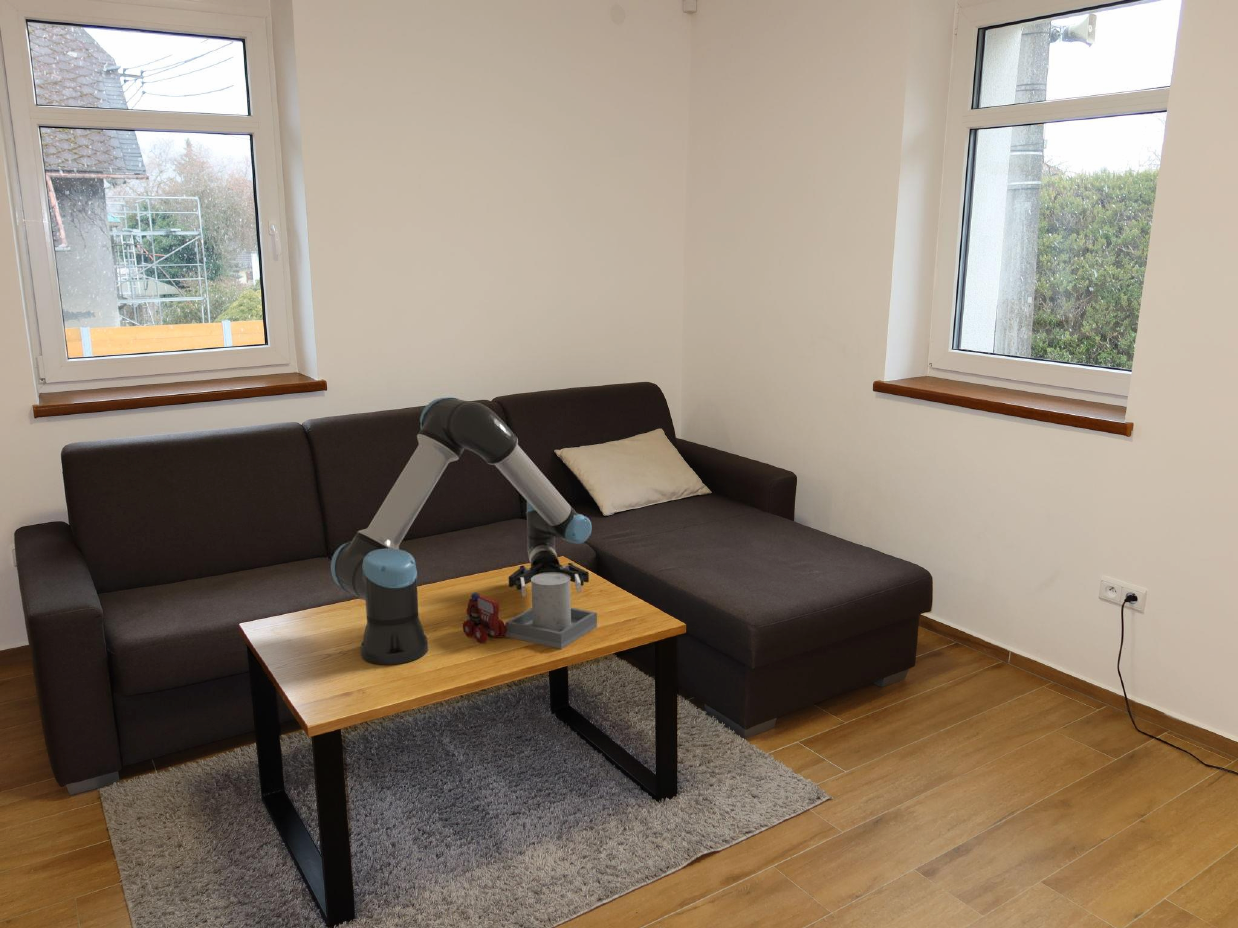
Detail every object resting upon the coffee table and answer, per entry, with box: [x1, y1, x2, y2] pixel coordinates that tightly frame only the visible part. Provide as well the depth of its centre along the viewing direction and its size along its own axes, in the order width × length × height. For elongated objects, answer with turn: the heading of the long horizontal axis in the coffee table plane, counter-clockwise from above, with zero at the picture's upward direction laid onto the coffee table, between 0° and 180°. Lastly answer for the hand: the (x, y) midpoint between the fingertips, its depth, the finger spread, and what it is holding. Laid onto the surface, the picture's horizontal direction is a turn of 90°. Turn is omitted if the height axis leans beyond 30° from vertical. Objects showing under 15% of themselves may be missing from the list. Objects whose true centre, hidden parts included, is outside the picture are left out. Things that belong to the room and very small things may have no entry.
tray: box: [504, 607, 598, 650], centre depth 236 cm, size 16×16×4 cm
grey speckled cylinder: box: [530, 572, 572, 632], centre depth 235 cm, size 10×10×12 cm
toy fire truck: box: [462, 592, 506, 644], centre depth 233 cm, size 7×12×10 cm, turn 40°
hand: (551, 589), depth 237 cm, fingers open, 13 cm apart
